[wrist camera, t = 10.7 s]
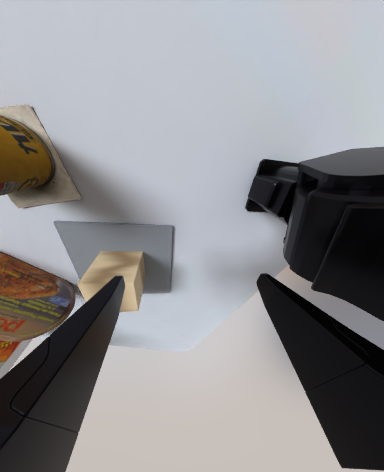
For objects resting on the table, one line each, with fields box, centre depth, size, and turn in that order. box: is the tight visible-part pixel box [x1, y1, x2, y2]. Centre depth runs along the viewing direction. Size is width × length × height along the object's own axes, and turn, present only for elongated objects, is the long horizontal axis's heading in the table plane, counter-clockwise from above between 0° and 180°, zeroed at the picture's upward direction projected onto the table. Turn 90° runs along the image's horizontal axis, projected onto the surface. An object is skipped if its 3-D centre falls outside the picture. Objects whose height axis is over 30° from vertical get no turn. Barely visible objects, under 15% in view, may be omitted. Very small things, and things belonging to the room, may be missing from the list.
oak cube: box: [77, 251, 145, 312], centre depth 20 cm, size 6×6×6 cm
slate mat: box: [54, 221, 173, 294], centre depth 22 cm, size 15×15×1 cm
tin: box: [0, 253, 75, 342], centre depth 18 cm, size 15×3×8 cm, turn 38°
